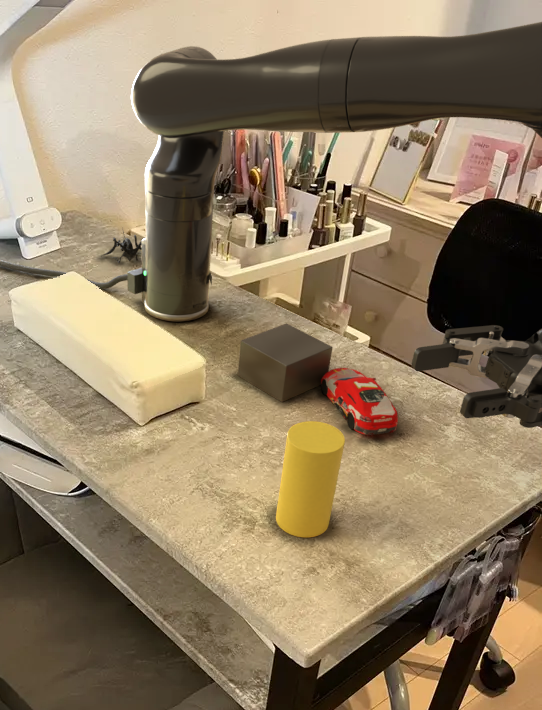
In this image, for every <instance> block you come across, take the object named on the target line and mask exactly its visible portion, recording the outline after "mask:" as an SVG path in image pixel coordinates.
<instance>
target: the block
mask: <svg viewBox="0 0 542 710" xmlns="http://www.w3.org/2000/svg"><path fill="white" fill-rule="evenodd" d="M333 348H334V347H333V345H330V344H328V343H325V342H324V341H323V340H320V339H318V338H316V337H314V336H313V335H310V334H308V333H306V332H305V331H302V330H301V329H298V328H296V327H295V326H293V325H292V324H288V323H287V322H286V323H283V324H280V325H278V326H275V327H273V328H269V329H267V330H265V331H262V332H260V333H257V334H254V335H251V336H249V337H245V338H243V339H241V340H240V343H239V355H238V357H239V358H238V367H237V368H238V369H237V376H238V377H239V378H241V379H243V380H244V381H245V382H247V383H249V384H251V385H252V386H253V387H256V388H257V389H259V390H261V391H262V392H264V393H266V394H268V396H270V397H272V398H274V399H276V400H277V401H279V402H281V403H284V402H286V401H287V400H291V399H293V398H295V397H296V396H299V395H302V394H304V393H306V392H309V391H310V390H312V389H314V388H317V387H319V386H320V387H321V379H322V377H323V376H324V374H326V373H327V372H329V371H330V365H331V361H332V360H331V359H332V354H333Z"/></svg>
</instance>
